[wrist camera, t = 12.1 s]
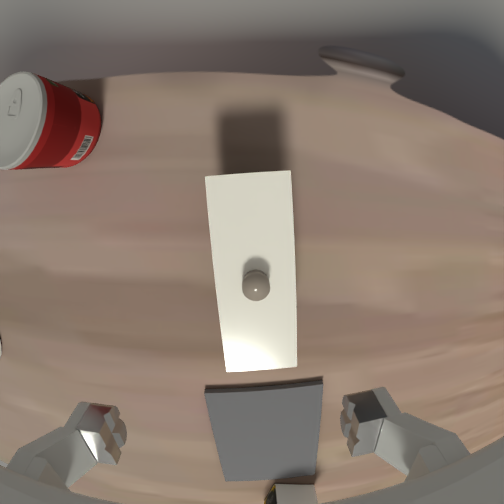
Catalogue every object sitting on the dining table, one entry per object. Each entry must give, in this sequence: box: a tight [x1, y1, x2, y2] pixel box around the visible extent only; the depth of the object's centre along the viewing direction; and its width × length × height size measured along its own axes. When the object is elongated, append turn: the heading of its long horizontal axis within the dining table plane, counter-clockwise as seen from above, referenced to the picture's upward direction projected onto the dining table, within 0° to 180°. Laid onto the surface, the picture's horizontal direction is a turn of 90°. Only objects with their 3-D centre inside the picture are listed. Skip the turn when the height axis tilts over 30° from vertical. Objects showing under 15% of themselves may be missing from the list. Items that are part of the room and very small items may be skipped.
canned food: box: [0, 72, 101, 170], centre depth 21 cm, size 8×8×11 cm
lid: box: [205, 170, 297, 372], centre depth 24 cm, size 6×16×4 cm, turn 4°
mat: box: [204, 380, 323, 481], centre depth 36 cm, size 14×20×1 cm
